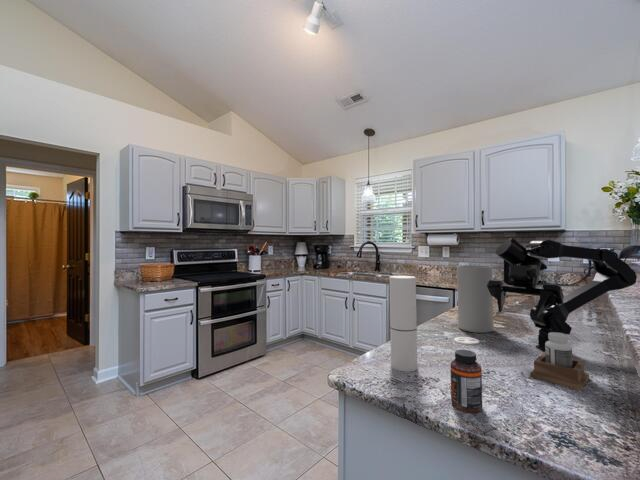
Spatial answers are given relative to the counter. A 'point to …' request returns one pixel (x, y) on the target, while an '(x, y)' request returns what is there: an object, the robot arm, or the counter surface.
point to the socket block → (560, 373)
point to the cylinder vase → (474, 298)
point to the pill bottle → (558, 350)
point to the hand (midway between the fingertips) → (517, 313)
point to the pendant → (467, 340)
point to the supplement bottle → (466, 382)
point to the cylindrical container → (403, 323)
